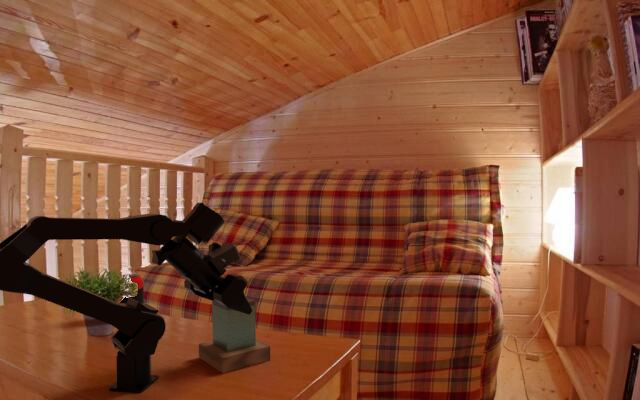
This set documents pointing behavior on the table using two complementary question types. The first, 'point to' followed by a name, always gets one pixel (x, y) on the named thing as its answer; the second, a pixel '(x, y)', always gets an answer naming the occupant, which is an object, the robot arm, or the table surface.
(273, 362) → the table surface
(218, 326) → the tea tin
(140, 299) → the soda can
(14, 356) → the table surface
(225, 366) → the walnut block
